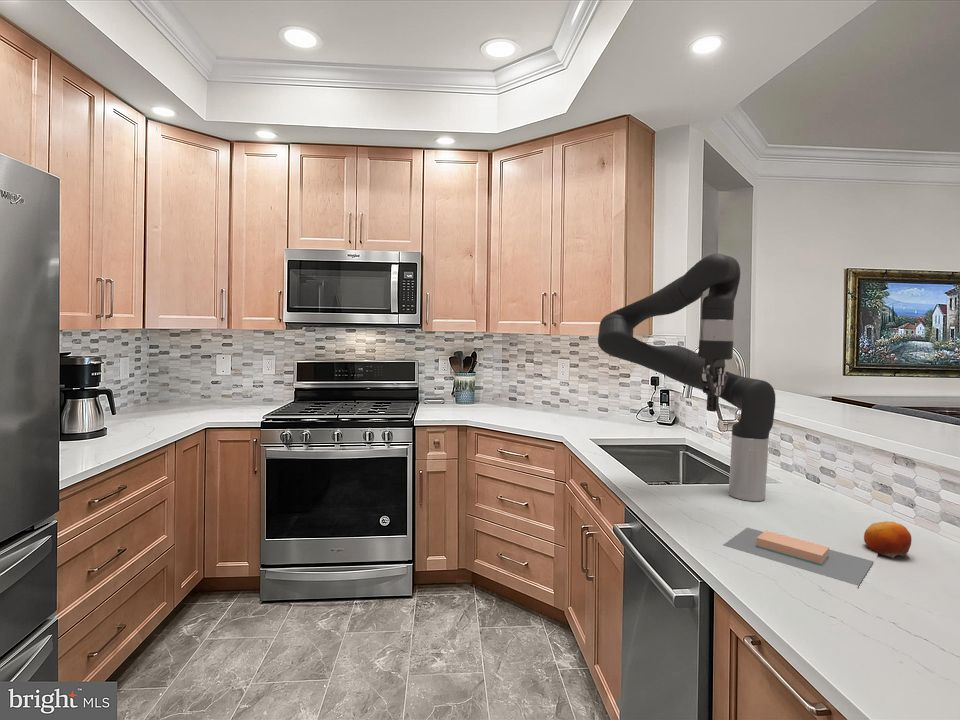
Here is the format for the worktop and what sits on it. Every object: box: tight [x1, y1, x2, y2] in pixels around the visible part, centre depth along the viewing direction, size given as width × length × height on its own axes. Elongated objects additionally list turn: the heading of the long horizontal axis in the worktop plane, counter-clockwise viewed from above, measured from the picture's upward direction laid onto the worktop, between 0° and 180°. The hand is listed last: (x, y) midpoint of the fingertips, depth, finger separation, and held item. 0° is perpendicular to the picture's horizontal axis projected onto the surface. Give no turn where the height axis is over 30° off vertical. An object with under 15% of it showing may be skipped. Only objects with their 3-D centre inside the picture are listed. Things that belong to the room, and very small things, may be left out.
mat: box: [722, 527, 874, 589], centre depth 110 cm, size 15×24×1 cm, turn 45°
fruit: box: [863, 521, 912, 560], centre depth 112 cm, size 8×8×8 cm
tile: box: [756, 530, 830, 566], centre depth 111 cm, size 6×2×12 cm
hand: (712, 410), depth 128 cm, fingers closed
